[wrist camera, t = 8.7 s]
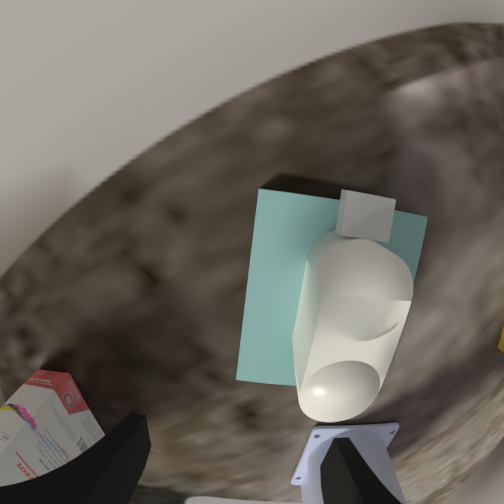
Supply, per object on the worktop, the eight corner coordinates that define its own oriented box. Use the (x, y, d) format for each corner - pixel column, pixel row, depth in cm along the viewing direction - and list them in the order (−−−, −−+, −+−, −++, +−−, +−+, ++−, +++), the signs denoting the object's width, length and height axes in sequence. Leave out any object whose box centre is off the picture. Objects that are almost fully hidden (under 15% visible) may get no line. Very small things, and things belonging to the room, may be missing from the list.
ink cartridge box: (37, 367, 21) (-51, 458, 7) (71, 371, 21) (-22, 483, 6) (73, 431, 23) (14, 523, 9) (108, 437, 22) (52, 546, 8)
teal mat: (373, 377, 19) (378, 387, 18) (237, 369, 19) (236, 379, 18) (418, 214, 16) (427, 217, 15) (259, 188, 16) (258, 189, 15)
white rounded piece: (346, 369, 18) (365, 421, 13) (286, 365, 18) (291, 421, 13) (386, 198, 15) (432, 207, 10) (317, 185, 15) (341, 188, 10)
